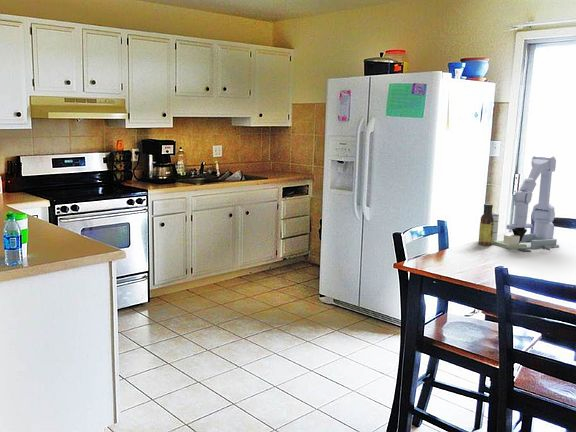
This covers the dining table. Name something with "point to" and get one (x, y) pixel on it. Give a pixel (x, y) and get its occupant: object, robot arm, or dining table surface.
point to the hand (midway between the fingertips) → (517, 243)
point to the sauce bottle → (486, 226)
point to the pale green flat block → (500, 243)
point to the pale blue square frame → (538, 241)
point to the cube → (511, 239)
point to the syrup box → (495, 226)
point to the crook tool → (550, 246)
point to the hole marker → (524, 250)
